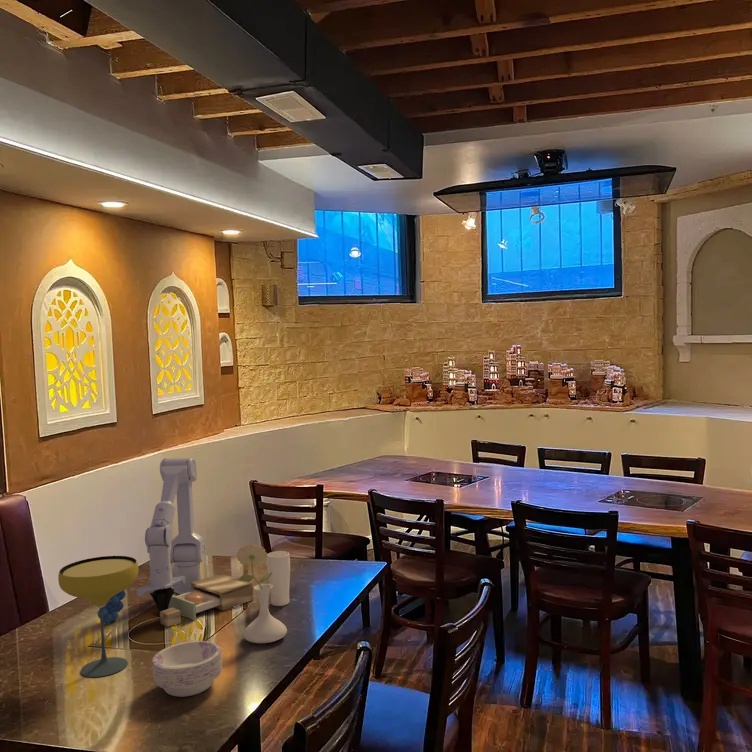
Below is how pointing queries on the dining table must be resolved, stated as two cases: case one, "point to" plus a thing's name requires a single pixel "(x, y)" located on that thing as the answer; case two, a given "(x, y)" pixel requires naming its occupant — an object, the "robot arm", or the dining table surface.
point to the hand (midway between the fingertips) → (163, 614)
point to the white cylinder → (279, 577)
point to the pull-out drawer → (193, 604)
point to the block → (170, 617)
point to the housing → (225, 590)
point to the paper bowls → (187, 667)
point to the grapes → (112, 608)
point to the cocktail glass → (99, 597)
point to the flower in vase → (260, 599)
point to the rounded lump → (194, 598)
